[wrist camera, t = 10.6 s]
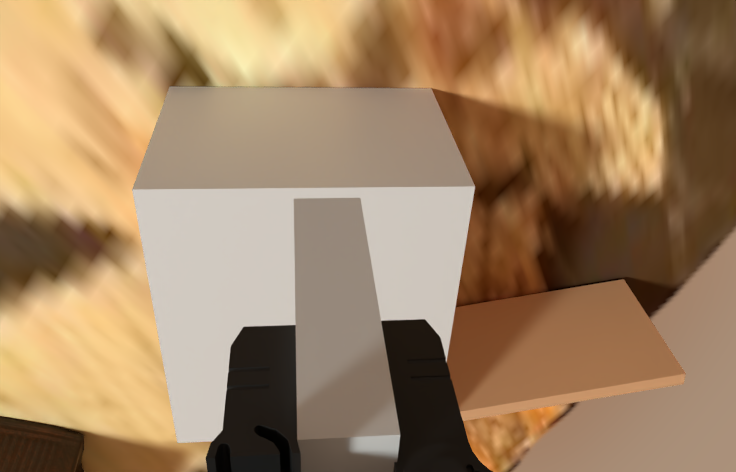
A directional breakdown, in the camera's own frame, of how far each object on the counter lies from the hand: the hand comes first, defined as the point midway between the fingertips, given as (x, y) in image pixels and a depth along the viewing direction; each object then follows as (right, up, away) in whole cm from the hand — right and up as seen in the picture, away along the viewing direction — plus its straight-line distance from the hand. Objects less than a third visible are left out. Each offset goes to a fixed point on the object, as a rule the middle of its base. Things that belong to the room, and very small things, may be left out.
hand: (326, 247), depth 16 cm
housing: (-3, +2, +31) cm, 31 cm away
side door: (+13, -5, +37) cm, 40 cm away
